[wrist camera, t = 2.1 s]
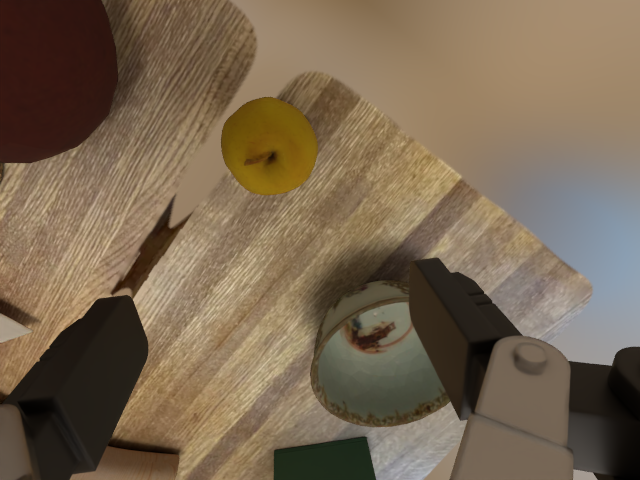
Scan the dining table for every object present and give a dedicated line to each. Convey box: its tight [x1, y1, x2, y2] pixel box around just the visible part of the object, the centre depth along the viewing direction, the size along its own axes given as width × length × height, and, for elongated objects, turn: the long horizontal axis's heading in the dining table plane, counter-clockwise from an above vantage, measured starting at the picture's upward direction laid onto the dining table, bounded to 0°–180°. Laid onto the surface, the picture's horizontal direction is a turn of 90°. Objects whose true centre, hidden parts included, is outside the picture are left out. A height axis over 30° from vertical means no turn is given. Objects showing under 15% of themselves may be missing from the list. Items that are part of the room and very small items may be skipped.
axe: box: [0, 313, 179, 480], centre depth 37 cm, size 18×5×30 cm
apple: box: [221, 97, 318, 195], centre depth 26 cm, size 6×6×8 cm
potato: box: [0, 0, 118, 163], centre depth 21 cm, size 11×13×10 cm
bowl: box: [310, 280, 450, 427], centre depth 34 cm, size 14×13×8 cm
